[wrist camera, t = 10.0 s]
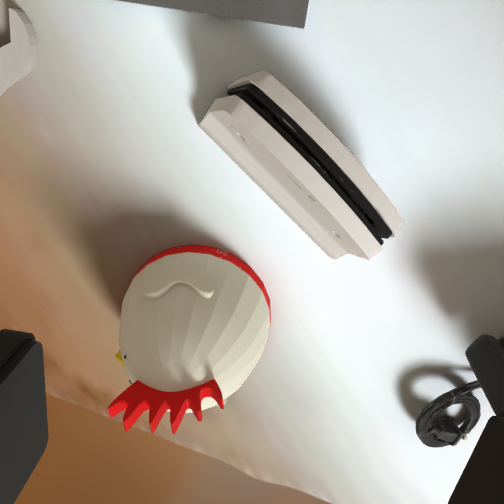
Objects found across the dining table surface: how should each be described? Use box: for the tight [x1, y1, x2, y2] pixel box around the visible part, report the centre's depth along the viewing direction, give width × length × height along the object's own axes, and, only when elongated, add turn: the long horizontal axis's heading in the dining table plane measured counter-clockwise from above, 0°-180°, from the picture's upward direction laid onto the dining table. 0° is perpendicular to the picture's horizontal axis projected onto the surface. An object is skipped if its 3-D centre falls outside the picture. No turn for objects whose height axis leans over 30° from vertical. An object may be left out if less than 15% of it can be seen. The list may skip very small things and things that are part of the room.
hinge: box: [198, 70, 404, 260], centre depth 34 cm, size 17×5×10 cm, turn 45°
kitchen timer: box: [108, 245, 271, 434], centre depth 38 cm, size 14×14×15 cm
